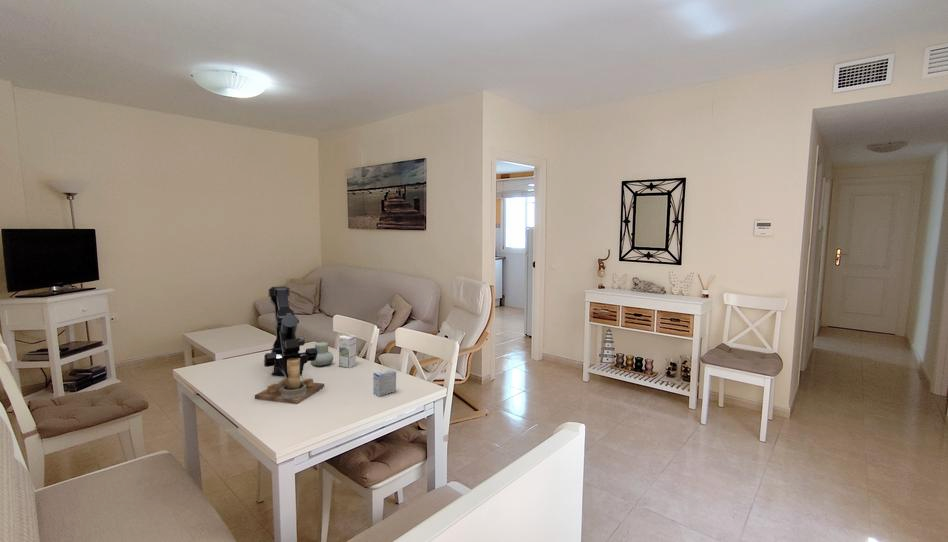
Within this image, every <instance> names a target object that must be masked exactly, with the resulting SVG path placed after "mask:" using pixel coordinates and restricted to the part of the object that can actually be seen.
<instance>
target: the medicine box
mask: <svg viewBox="0 0 948 542" xmlns="http://www.w3.org/2000/svg"><path fill="white" fill-rule="evenodd" d="M372 376H373V377H372V381H373V383H372V385H373V390H372V393H373V395H375V394H376V395H375V396H377V395H378V396H377V397H379V396H380V397H383V396H386V395H389V394H388V393H390V394H392V393H391V392H393V393H395V392H394V391H396V392H397V371H395V370H394V369H392V368H388V369H383V370H380V371H375V372H373V375H372ZM385 394H386V395H385ZM382 395H383V396H382Z"/></svg>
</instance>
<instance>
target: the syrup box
mask: <svg viewBox="0 0 948 542" xmlns="http://www.w3.org/2000/svg"><path fill="white" fill-rule="evenodd" d="M356 338H357V337H356V335H353V334H343V335H340V336H339V337H338V347H339V348H338V353H339V354H338V358H339V359H338V361H339V363H338V364H339V365H338V366H339V367H340V368H346V367H347V368H348V369H351V368H353V367H355V366H357V365H356V364H357V348H356V347H357V339H356ZM354 365H355V366H354ZM352 366H353V367H352ZM350 367H351V368H350Z"/></svg>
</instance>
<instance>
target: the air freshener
mask: <svg viewBox="0 0 948 542" xmlns="http://www.w3.org/2000/svg"><path fill="white" fill-rule="evenodd" d="M314 348H316V349H317V351H318V354H317V357H316V360H314V361H310V362H311V364H312V365H314V366H316V367H320V366H322V367H323V365H324V366H328V365H330V364H331V363H332V362H333V361H334V355H333V353H332V352H331V351H329V343H328V342H325V341H323V342H316V343H315V344H314Z"/></svg>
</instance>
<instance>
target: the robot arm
mask: <svg viewBox="0 0 948 542" xmlns="http://www.w3.org/2000/svg"><path fill="white" fill-rule="evenodd" d="M267 292H268V294H267V296H268V298H269V301H270V303H271V304H272V306H273V307H274V320H275V321H274V323H275V340H274V342H273V344H272V348H271V352H269V353H267V352H266V353H265V354H264V357H263V358H264V359H263V367H265V368H266V367H273V371H272V373H271V376H278V377H279V376H281V377H286V378H288V373H287V360H288V359H290V358H299V359H300V377H302V376H303V371H304V366H305V364H308V362H311V361H314V360H316V357H317V354H318V351H317V349H316V348H315V347H309V348H306V349H305V352H300V350H301V349H300V347H301V346H305V344H306V343H305V337H304V336H299V337H298V338H297V335H296V333H297V330H298V329H297V328H298V324H299V323H300V320H299V318H298V317H297V316H296V315H295V313H294V310H293V309H291V308H290V303H289V302H290V301H289V297H290V296H291V293H290V292H291V291H290V287H288V286H286V285H285V286H283V285H282V286H281V285H280V286H271V287H270V288H269V289H268V291H267Z"/></svg>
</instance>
